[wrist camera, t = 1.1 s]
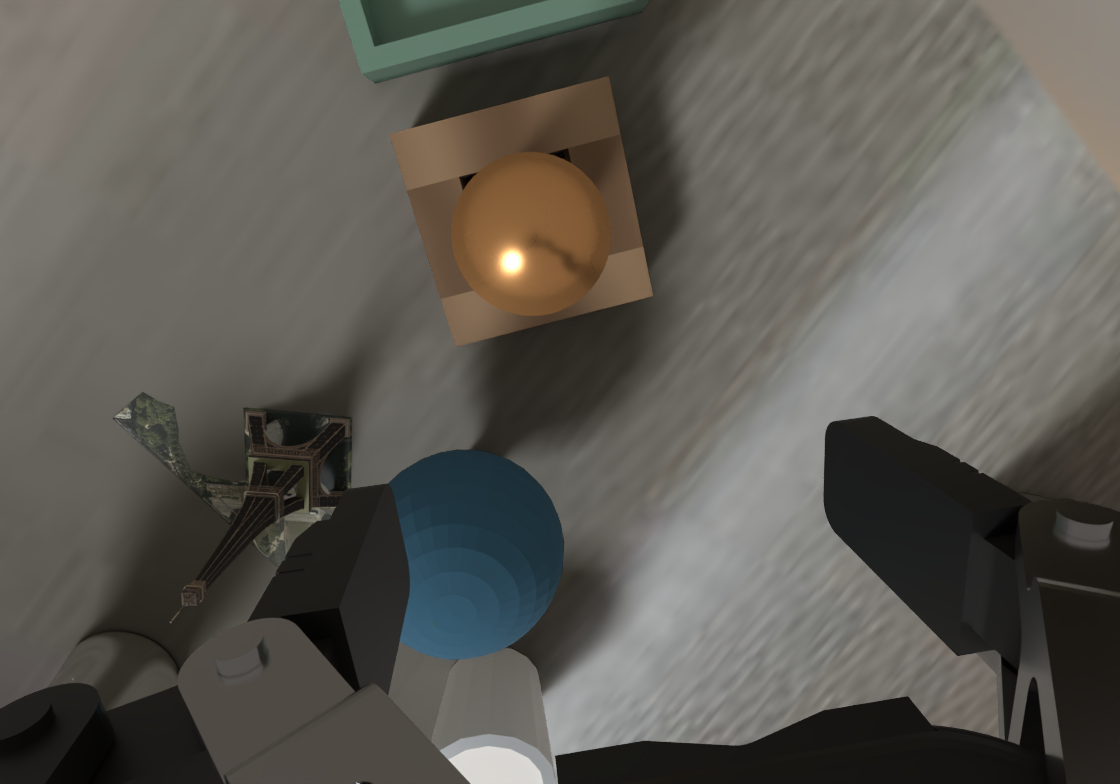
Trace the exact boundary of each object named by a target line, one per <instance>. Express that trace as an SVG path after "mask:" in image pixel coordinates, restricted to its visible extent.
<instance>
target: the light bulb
mask: <svg viewBox="0 0 1120 784" xmlns="http://www.w3.org/2000/svg"><path fill="white" fill-rule="evenodd" d="M388 484H389V485H390V486H391V488H392V491H393V494H394V498H395V503H396V507H397V512H398V516H399V521H400V526H401V530H402V535H403V540H404V544H405V549H406V554H407V558H408V564H409V573H410V594H409V599H408V604H407V609H406V613H405V618H404V623H403V627H402V632H401V637H400V642H402V643H403V644H405V645H407V646H409V647H411V648H413V649H415V650H417V651H419V652H421V653H424V654H427V655H430V656H433V657H437V658H444V659H470V658H476V657H481V656H485V655H488V654H491V653H494V652H497V651H500V650H502V649H504V648H506V647H507V646H509V645H511V644H513V643H515V642H516V641H517V640H519V639H520V638H521V637H522V636H523V635H525V634H526V633H527V632H528V631H529V630H530V629H531V628H532V627H533V626H534V625H535V624H536V623H537V622H538V620H539V619H540V618H541V617H542V616H543V614H544V613H545V612H546V610H547V608H548V607H549V605H550V603H551V601H552V599H553V597H554V595H555V592H556V590H557V588H558V585H559V581H560V578H561V574H562V570H563V554H564V539H563V533H562V528H561V523H560V520H559V517H558V514H557V512H556V510H555V507H554V505H553V503H552V500H551V499H550V497H549V496H548V494H547V493H546V492H545V490H544V489H543V487H542V486H541V485H540V484H539V483H538V482H537V481H536V480H535V479H534V478H533V477H532V476H531V475H530V474H529V473H528V472H527V471H526V470H525V469H523V468H522V467H520V466H519V465H517V464H515V463H514V462H512V461H511V460H509V459H506V458H504V457H501V456H498V455H496V454H493V453H489V452H483V451H478V450H452V451H446V452H441V453H437V454H434V455H432V456H429V457H426V458H424V459H421V460H420V461H418V462H416V463H415V464H413V465H411V466H410V467H408V468H406V469H405V470H403V471H401V472H400V473H399V474H398V475H397V476H396V477H395V478H394V479H392V480H391V481H390V482H389V483H388Z"/></svg>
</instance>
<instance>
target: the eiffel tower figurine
mask: <svg viewBox="0 0 1120 784" xmlns="http://www.w3.org/2000/svg"><path fill="white" fill-rule="evenodd" d="M113 419H114V420H115V421H116V422H117V423H118V424H119V425H120V426H121V427H123V428H124V429H125V430H126V431H127V432H128V433H129V434H130V435H131V436H132V437H134V438H135V439H136V440H137V441H138V442H139V443H140V444H141V445H142V446H144V447H145V448H146V449H147V450H148V451H149V452H150V453H152V454H153V455H154V456H155V457H156V458H157V459H158V460H159V461H161V462H162V463H163V464H164V465H165V466H166V467H167V468H168V469H170V470H171V471H172V472H173V473H174V474H175V475H176V476H177V477H178V478H180V479H181V480H182V481H183V482H184V483H185V484H186V485H187V486H188V487H189V488H191V489H192V490H193V491H194V492H195V493H196V494H197V495H198V496H199V497H200V498H201V499H203V500H204V501H205V502H206V503H207V504H208V505H209V506H210V507H211V508H212V509H214V510H215V511H216V512H217V513H218V514H219V515H220V516H221V517H222V518H223V519H225V520H226V521H227V522H228V523H229V524H230V525H231V526H230V528H229V529H228V531H227V532H226V534H225V535H224V537H223V538H222V540H221V541H220V543H219V544H218V546H217V547H216V549H215V550H214V552H213V553H212V555H211V556H210V558H209V559H208V561H207V562H206V564H205V565H204V567H203V568H202V570H201V571H200V573H199V574H198V575H197V577H196V578H195V579H194V581H193V582H192V583H191V584H190V585H186V586H185V587H184V588H183V591H182V592H181V599H182V605H183V606H182V607H181V608H180V610H179V611H178V612H177V613H176V615H175V616H174V617H173V618H172V620H171V621H170V622H169V623H172V622H173V620H174V619H175V618H176V617H177V615H178V614H179V613H180V612H181V610H182V609H183V608H184V606H189V605H193V606H197V605H198V603H199V602H201V601H202V600H203V599H204V598H203V594H204V593H205V591H206V590H207V589H208V588H209V587H210V585H211V584H212V583H213V582H214V581H215V580H216V579H217V578H218V577H219V576H220V574H221V573H222V572H223V571H224V570H225V569H226V568H227V567H228V566H229V565H230V564H231V563H232V562H233V560H234V559H235V558H236V557H237V556H238V555H239V554H240V553H241V552H242V551H243V550H244V549H245V548H246V547H247V546H248V545H249V544H250V543H251V544H252V545H254V546H255V547H256V548H257V549H258V550H259V551H260V552H261V553H263V554H264V555H265V556H266V557H267V558H268V559H269V560H270V561H272V562H273V563H274V564H275V565H276V566H277V567H278V568H279V566H280V564H281V563H282V561H285V556H286V554H287V552H288V550H289V549H290V547H291V545H292V543H293V542H294V540H295V538H297V537H298V536H299V535H300V534H302V533H303V532H304V531H305V530H306V529H308V528H309V527H310V526H311V525H312V524H314V523H315V522H316V521H321V520H328V519H330V518H331V516H330V515H329V514H327V513H326V512H324V511H323V510H322V509H320V508H332V509H335V508H336V506H337V504H338V502H339V500H340V498H341V496H342V494H343V492H344V491H345V490H346V489H351V449H352V417H342V416H331V415H320V414H309V413H298V412H287V411H276V410H265V409H254V408H244V433H245V458H246V481H229V480H223V479H216V478H211V477H208V476H205V475H202V474H199V473H195V472H193V471H191V469H190V467H189V465H188V463H187V461H186V459H185V456H184V454H183V451H182V448H181V446H180V443H179V431H178V425H177V420H176V414H175V409H174V406H171V405H168V404H165V403H162V402H159V401H157V400H156V399H154V398H152V397H151V396H149V395H147V394H146V393H144V392H142V393H141V394H140V395H139V396H137V397H136V398H135V399H134V400H133V401H132V402H131V403H129V404H128V405H127V406H126V407H125V408H124V409H123V410H122V411H120V412H119V413H118V414H117V415H116V416H115V417H114V418H113Z"/></svg>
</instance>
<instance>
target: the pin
mask: <svg viewBox="0 0 1120 784" xmlns="http://www.w3.org/2000/svg"><path fill="white" fill-rule="evenodd" d="M451 237H452V247H453V251H454V256H455V259H456V262H457V265H458V267H459V269H460V271H461V273H462V275H463V277H464V278H465V280H466V281H467V283H468V284H469V285H470V287H471V288H472V289H473V290H474V291H475V292H476V293H477V294H478V295H479V296H480V297H482V298H483V299H484V300H485V301H487V302H488V303H490V304H491V305H493V306H495V307H497V308H499V309H501V310H503V311H506V312H509V313H513V314H518V315H524V316H540V315H546V314H552V313H555V312H558V311H561V310H563V309H565V308H567V307H569V306H571V305H572V304H574V303H576V302H577V301H579V300H580V299H581V298H582V297H583V296H585V295H586V294H587V293H588V292H589V290H590V289H591V288H592V287H593V286H594V285H595V283H596V282H597V280H598V279H599V277H600V275H601V273H602V272H603V270H604V267H605V265H606V262H607V259H608V255H609V251H610V244H611V225H610V218H609V214H608V211H607V207H606V205H605V202H604V200H603V198H602V196H601V194H600V192H599V191H598V189H597V187H596V186H595V185H594V183H593V182H592V181H591V180H590V178H589V177H588V176H587V175H586V174H585V173H583V172H582V171H581V170H580V169H579V168H577V167H576V166H575V165H573V164H571V163H570V162H568V161H566V160H564V159H562V158H559V157H557V156H554V155H550V154H546V153H539V152H521V153H516V154H510V155H508V156H505V157H502V158H499V159H497V160H495V161H493V162H491V163H490V164H488V165H487V166H485V167H484V168H482V169H481V170H480V171H479V172H478V173H477V174H476V175H475V176H474V177H473V178H472V179H471V180H470V182H469V183H468V184H467V185H466V187H465V188H464V190H463V192H462V193H461V195H460V197H459V200H458V202H457V204H456V207H455V211H454V214H453V220H452V232H451Z"/></svg>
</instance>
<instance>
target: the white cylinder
mask: <svg viewBox="0 0 1120 784" xmlns="http://www.w3.org/2000/svg"><path fill="white" fill-rule="evenodd" d="M431 742H432V743H433V744H434V745H435V746H436V747H437V748H438V749H439V750H440V752H441V753H442V754H443V755H444V756H445V757H446V758H447V759H448V760H449V761H450V762H451V763H452V764H453V765H454V766H455V767H456V769H457V770H458V771H459V772H460V773H461V774H462V775H463V776H464V777H465V778H466V779H467V780H468V781H469V782H470V783H471V784H556V779H555V773H554V767H553V761H552V755H551V748H550V742H549V736H548V730H547V723H546V717H545V711H544V705H543V698H542V692H541V686H540V681H539V676H538V671H537V669H536V667H535V666H534V665H533V664H532V662H531V661H530V660H529V659H528V657H526V656H524V655H523V654H521V653H519V652H517V651H515V650H513V649H510V648H504V649H502V650H500V651H497V652H494V653H491V654H488V655H485V656H481V657H476V658H470V659H459V660H458V661H457V663H456V664H455V665H454V666H453V668H452V669H451V670H450V673H449V676H448V680H447V684H446V688H445V691H444V695H443V699H442V702H441V706H440V710H439V714H438V717H437V721H436V725H435V728H434V732H433V736H432V740H431Z"/></svg>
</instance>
